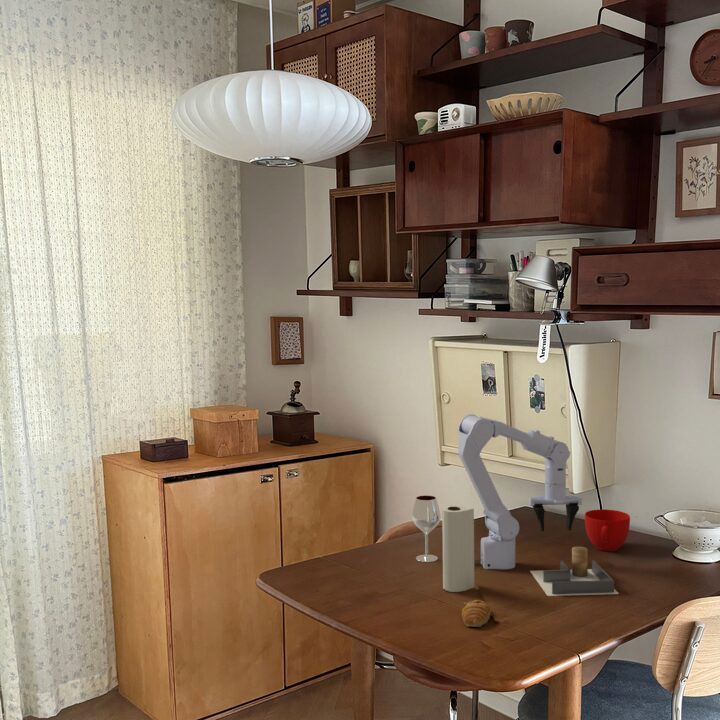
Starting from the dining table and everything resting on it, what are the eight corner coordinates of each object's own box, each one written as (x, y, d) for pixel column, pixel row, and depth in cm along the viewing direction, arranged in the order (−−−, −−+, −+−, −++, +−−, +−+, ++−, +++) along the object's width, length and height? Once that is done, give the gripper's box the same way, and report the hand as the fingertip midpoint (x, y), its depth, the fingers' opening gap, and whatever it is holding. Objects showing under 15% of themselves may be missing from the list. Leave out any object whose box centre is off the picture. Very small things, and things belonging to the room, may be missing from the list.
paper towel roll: (438, 589, 211) (437, 508, 209) (450, 583, 216) (449, 503, 214) (462, 595, 207) (462, 513, 205) (474, 588, 212) (473, 507, 210)
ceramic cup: (580, 556, 236) (580, 522, 235) (587, 539, 252) (587, 507, 251) (627, 560, 231) (627, 526, 231) (631, 543, 247) (631, 511, 246)
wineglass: (446, 559, 235) (446, 498, 234) (424, 565, 230) (423, 502, 229) (428, 552, 242) (428, 493, 240) (407, 558, 237) (406, 497, 236)
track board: (547, 599, 203) (547, 595, 203) (530, 574, 221) (530, 570, 221) (618, 597, 203) (618, 593, 203) (595, 572, 222) (595, 568, 222)
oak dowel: (574, 577, 216) (574, 551, 215) (570, 572, 220) (570, 546, 219) (589, 576, 216) (589, 550, 215) (585, 571, 220) (584, 546, 219)
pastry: (487, 630, 185) (487, 614, 185) (458, 628, 187) (458, 612, 187) (491, 615, 194) (491, 599, 194) (463, 613, 196) (463, 597, 196)
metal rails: (552, 594, 204) (552, 582, 204) (536, 572, 220) (536, 561, 220) (614, 592, 204) (614, 580, 204) (594, 571, 220) (594, 560, 220)
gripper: (533, 486, 225) (533, 534, 226) (585, 485, 225) (585, 533, 227) (527, 480, 232) (527, 527, 233) (577, 479, 233) (577, 526, 234)
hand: (555, 529), depth 230 cm, fingers open, 7 cm apart
